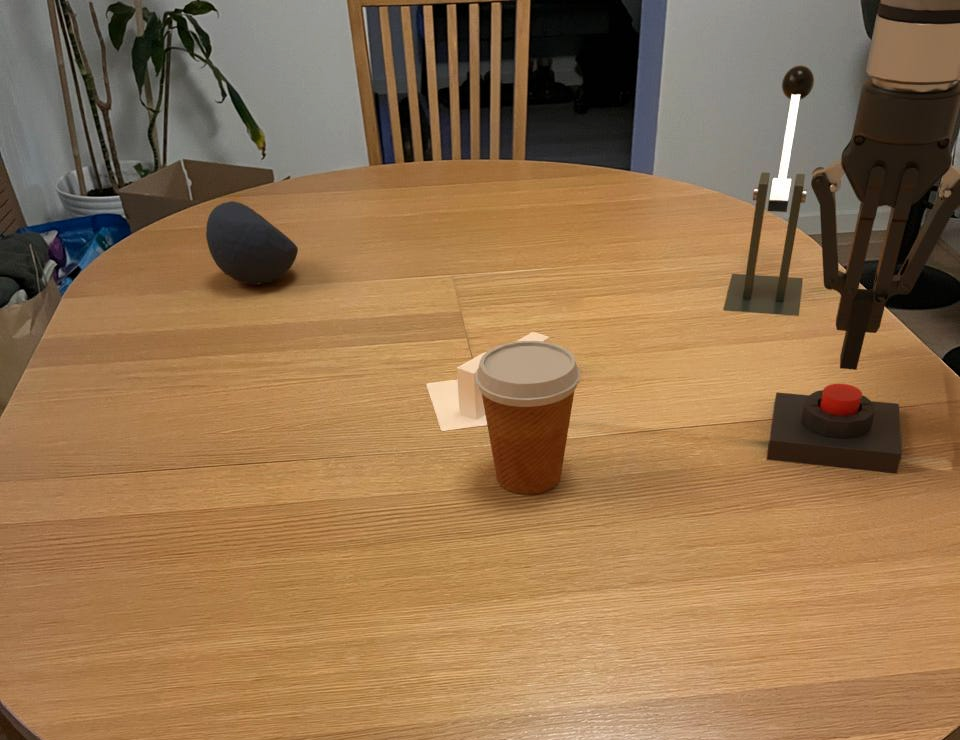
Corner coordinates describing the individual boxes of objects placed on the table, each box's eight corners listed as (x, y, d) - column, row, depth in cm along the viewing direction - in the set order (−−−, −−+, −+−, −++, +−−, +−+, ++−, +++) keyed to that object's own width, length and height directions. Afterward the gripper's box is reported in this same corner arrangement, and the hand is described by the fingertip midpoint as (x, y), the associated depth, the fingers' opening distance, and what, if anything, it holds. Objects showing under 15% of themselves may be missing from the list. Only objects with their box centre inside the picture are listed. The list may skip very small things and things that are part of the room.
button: (858, 401, 95) (862, 385, 94) (858, 419, 92) (862, 402, 91) (820, 398, 96) (823, 381, 94) (819, 415, 93) (822, 399, 92)
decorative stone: (242, 305, 128) (226, 228, 121) (202, 281, 135) (184, 206, 129) (317, 281, 133) (306, 206, 127) (275, 259, 140) (261, 186, 134)
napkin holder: (552, 366, 111) (552, 318, 107) (579, 412, 103) (581, 362, 99) (424, 383, 109) (420, 335, 105) (441, 432, 101) (437, 381, 97)
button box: (893, 423, 98) (903, 386, 96) (896, 474, 91) (907, 436, 89) (772, 411, 101) (779, 375, 99) (766, 459, 94) (773, 423, 92)
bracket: (730, 282, 127) (746, 162, 117) (801, 287, 125) (823, 165, 115) (721, 319, 119) (738, 193, 109) (797, 325, 116) (821, 197, 107)
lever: (783, 78, 116) (785, 58, 113) (814, 79, 116) (817, 58, 112) (761, 213, 115) (763, 197, 112) (792, 215, 114) (795, 198, 111)
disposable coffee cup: (464, 493, 92) (457, 377, 84) (500, 445, 98) (497, 332, 90) (559, 511, 89) (561, 393, 81) (590, 460, 95) (594, 345, 87)
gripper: (999, 70, 76) (919, 351, 92) (828, 67, 79) (779, 339, 95) (1010, 93, 71) (923, 387, 87) (826, 88, 74) (774, 374, 90)
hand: (848, 362), depth 91 cm, fingers closed
